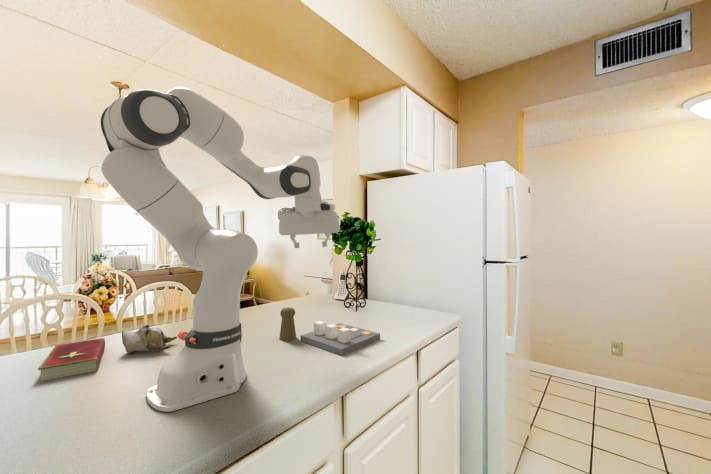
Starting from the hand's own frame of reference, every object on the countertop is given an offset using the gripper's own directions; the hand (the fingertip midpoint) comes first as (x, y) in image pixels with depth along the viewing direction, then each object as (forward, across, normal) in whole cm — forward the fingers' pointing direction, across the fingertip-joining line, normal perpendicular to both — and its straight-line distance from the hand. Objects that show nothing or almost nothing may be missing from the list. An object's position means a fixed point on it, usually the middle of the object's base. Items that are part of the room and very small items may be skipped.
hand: (310, 247), depth 107 cm
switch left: (+32, +1, +2) cm, 32 cm away
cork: (+34, -11, +4) cm, 36 cm away
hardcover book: (+30, -69, -17) cm, 77 cm away
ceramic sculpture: (+31, -54, -8) cm, 63 cm away
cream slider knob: (+31, +10, -6) cm, 33 cm away
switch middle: (+31, +6, -2) cm, 32 cm away
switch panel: (+34, +8, +2) cm, 35 cm away
